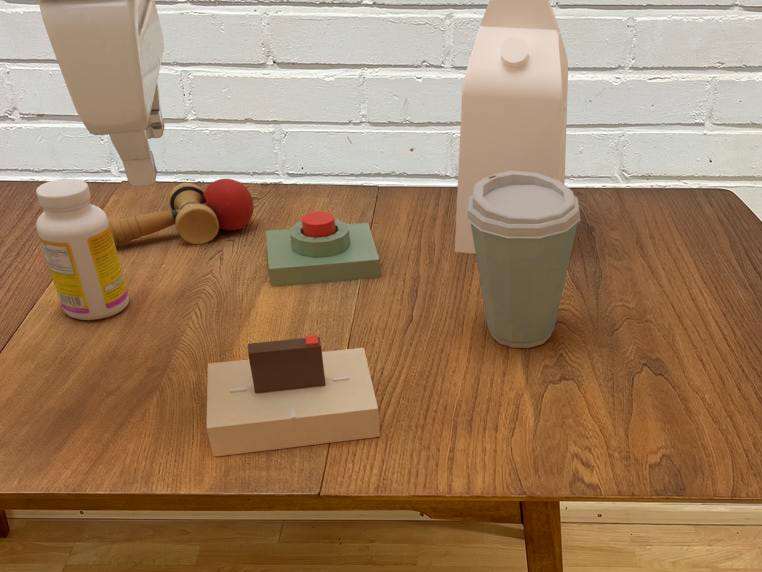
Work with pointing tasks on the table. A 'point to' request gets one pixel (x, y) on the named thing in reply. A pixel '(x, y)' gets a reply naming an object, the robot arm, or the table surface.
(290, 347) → the brown box red tab
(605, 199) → the table surface
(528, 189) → the disposable coffee cup
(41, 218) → the supplement bottle
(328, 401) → the panel
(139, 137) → the robot arm
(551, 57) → the milk
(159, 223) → the kendama
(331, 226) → the button
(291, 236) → the button box
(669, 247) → the table surface
